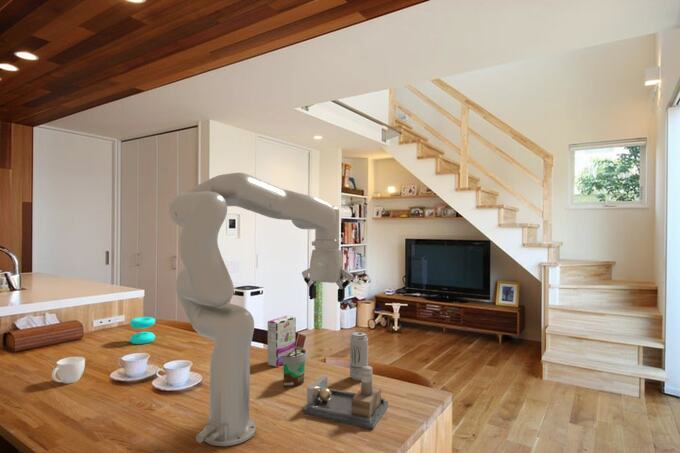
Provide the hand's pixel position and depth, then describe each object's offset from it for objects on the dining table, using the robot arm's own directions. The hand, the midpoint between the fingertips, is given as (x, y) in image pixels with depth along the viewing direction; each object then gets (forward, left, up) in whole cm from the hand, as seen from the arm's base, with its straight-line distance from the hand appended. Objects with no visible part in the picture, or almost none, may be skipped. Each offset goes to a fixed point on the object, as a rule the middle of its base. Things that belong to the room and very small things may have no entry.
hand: (326, 299), depth 126 cm
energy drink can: (+13, -6, -28) cm, 32 cm away
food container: (+1, +11, -28) cm, 30 cm away
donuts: (+14, +95, -28) cm, 100 cm away
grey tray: (-11, -11, -28) cm, 32 cm away
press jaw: (-11, -17, -26) cm, 33 cm away
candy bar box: (+16, +26, -28) cm, 42 cm away
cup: (-29, +79, -28) cm, 88 cm away
